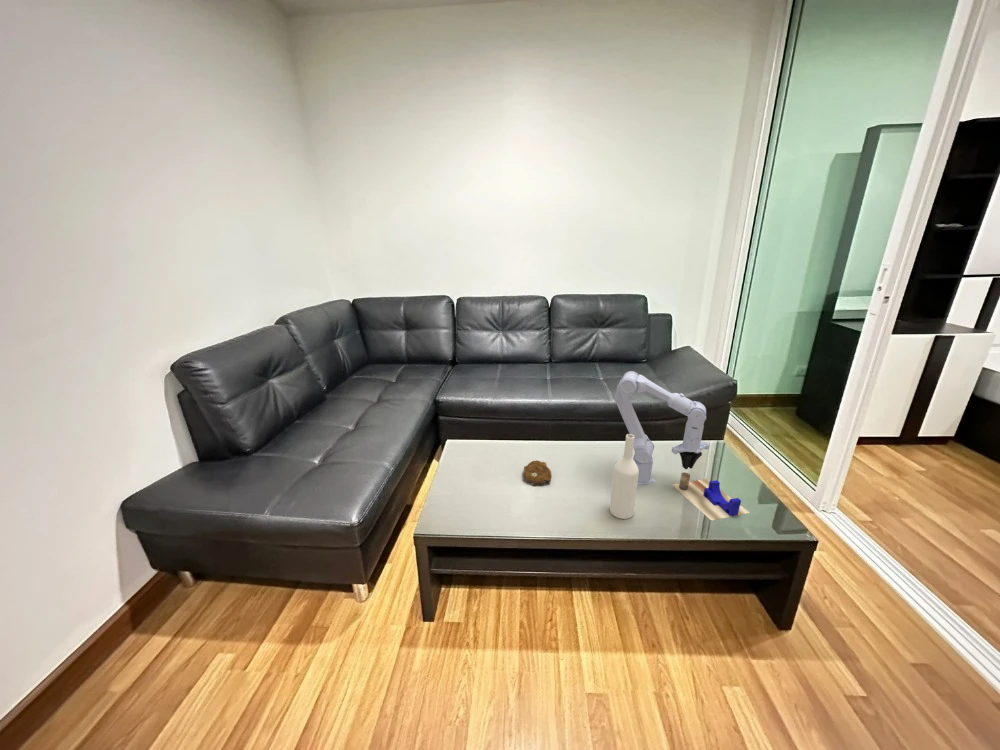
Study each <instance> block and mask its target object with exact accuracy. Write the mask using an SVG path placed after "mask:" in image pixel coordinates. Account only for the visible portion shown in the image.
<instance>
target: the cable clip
mask: <svg viewBox="0 0 1000 750" xmlns="http://www.w3.org/2000/svg"><path fill="white" fill-rule="evenodd" d="M709 481H710V482H709V487H708V488H705V489H704V494H703V495H704V496H705V497H706V498H707V499H708V500H709V501H710V502H711V503H712V504H713V505H718V506H720V507H721V508H722V509H723V510H724V511H725V512H726V513H727V514H728V515H729V516H732V517H736V516H735V515H737V516H739V515H738V512H739V508H740V505H741V503H742V500H741V499H740V498H738V497H736V498H735V497H734V498H732V499H730V501H729V502H727V501H726V500H725V499H724V498H723V496H722V494H721V492H720V490H721V488H720V487H721V486H720V485H721V484H720V481H718V480H717V479H716V480H709Z"/></svg>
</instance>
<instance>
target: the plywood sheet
mask: <svg viewBox="0 0 1000 750" xmlns="http://www.w3.org/2000/svg"><path fill="white" fill-rule="evenodd" d="M710 481H711V480H709V479H708V478H704V479H698V480H697V479H696V480H691V481H690V480H689V485H688V490H681V489H680V488H679V485H680V482H679V483H673V484H671V486H672V487H673V488H675V489H676V490H677V491H678V492H679V493H680V494H681V495H682V496H683V497H685V499H687V500H688V502H689V503H691V504H693V506H694V507H695V508H697V509H698V510H699V511H700V512H701V513H703V515H705V516H706V518H707V519H709V520H710V521H716V520H722V519H727V518H731V517H733V516H729V515H728V514H727V513H726V512H725V511H724V510H723V509H722V508H721V507H720V506H718V505H713V504H712V503H711V502H710V501H709V500H708V499H707V498H706V497H705V496H704V495H703V494H704V489H705V488H708V487H709V482H710ZM720 492H721V494H722V496H723V498H724V499H725V500H726V501H727V502H729V501H730V499H733V498H732V497H731V496H729V495H728V494H727V493H726V492H725V491H723V490H722V489H720ZM750 513H751V512H750V511H748V509H746V508H745V507H743V506H742V505H741V504H740V508H739V512H738V515H735V516H734V517H737V516H742V515H746V514H750Z"/></svg>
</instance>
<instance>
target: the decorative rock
mask: <svg viewBox="0 0 1000 750" xmlns="http://www.w3.org/2000/svg"><path fill="white" fill-rule="evenodd" d="M523 478H524V479H525V482H526V483H528V484H531V485H532V487H536V486H537V485H538V487H540V485H545V483H547V482H551V481H552V471H551V469H550V468H549V467H548V466H547V462H545V461H540V460H532V461H531V462H529V463H528V464H527V465H525V466H524V467H523Z"/></svg>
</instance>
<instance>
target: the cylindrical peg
mask: <svg viewBox="0 0 1000 750" xmlns="http://www.w3.org/2000/svg"><path fill="white" fill-rule="evenodd" d="M690 478H691V474H690V473H688V472H685V471H684V472H681V475H680V481H679V483H680V485H679V488H680V489H681V490H688V485H689V482H690V480H691V479H690Z"/></svg>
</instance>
